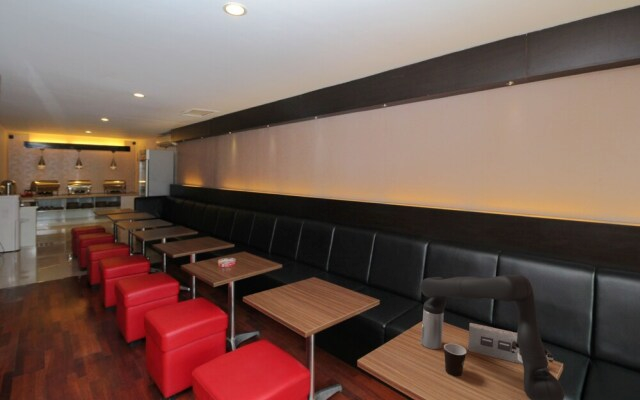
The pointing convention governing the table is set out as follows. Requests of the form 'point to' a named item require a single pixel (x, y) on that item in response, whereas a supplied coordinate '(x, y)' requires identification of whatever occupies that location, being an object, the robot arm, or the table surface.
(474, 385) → the table surface
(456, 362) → the coffee mug
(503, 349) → the psu panel
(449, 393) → the table surface
